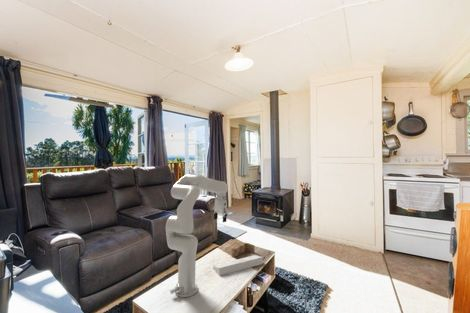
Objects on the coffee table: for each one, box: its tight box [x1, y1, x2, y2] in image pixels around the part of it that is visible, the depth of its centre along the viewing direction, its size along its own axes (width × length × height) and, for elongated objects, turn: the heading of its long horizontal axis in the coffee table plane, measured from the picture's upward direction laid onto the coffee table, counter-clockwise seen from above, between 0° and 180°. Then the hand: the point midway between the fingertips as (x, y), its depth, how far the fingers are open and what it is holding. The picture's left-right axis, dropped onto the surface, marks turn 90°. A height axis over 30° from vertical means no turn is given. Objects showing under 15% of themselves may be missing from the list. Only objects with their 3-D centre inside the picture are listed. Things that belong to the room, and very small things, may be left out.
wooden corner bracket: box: [231, 242, 255, 258], centre depth 165 cm, size 17×9×6 cm, turn 139°
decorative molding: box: [212, 254, 264, 277], centre depth 148 cm, size 34×5×10 cm
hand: (220, 220), depth 160 cm, fingers open, 9 cm apart
